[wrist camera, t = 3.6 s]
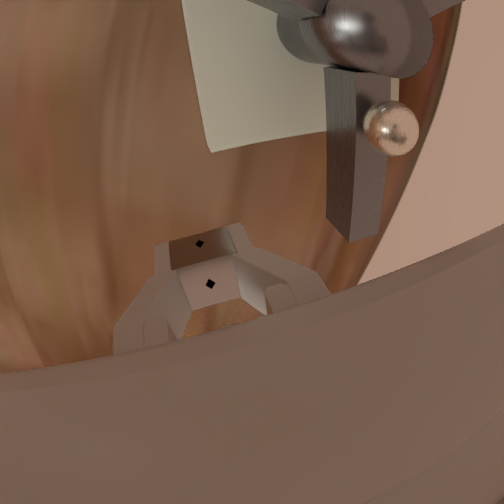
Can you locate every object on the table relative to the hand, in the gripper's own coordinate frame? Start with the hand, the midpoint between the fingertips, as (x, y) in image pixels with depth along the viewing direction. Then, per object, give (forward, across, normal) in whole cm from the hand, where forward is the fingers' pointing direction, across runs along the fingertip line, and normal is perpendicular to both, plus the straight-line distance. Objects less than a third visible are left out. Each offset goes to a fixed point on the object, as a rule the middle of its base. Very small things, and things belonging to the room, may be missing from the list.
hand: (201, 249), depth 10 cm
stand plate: (+8, -8, -7) cm, 13 cm away
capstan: (+6, -8, -5) cm, 11 cm away
